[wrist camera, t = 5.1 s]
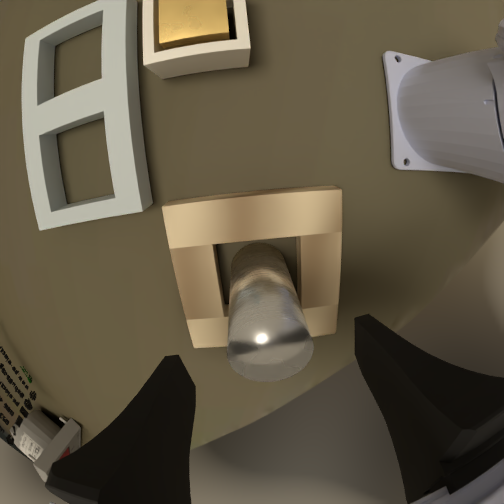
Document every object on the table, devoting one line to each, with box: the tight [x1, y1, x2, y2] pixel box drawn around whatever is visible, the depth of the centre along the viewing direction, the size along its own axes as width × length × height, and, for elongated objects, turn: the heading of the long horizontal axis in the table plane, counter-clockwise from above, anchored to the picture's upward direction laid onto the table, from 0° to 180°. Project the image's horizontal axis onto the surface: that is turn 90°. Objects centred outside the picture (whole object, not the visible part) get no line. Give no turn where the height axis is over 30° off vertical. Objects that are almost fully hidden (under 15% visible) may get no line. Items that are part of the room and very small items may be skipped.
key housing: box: [143, 0, 251, 79], centre depth 11 cm, size 5×5×4 cm
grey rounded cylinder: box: [227, 243, 314, 382], centre depth 14 cm, size 4×4×8 cm
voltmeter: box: [0, 347, 81, 482], centre depth 19 cm, size 27×11×10 cm, turn 7°
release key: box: [159, 0, 230, 50], centre depth 10 cm, size 3×3×3 cm
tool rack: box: [22, 0, 153, 230], centre depth 13 cm, size 8×14×2 cm, turn 5°
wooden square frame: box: [162, 185, 342, 348], centre depth 17 cm, size 10×10×2 cm
